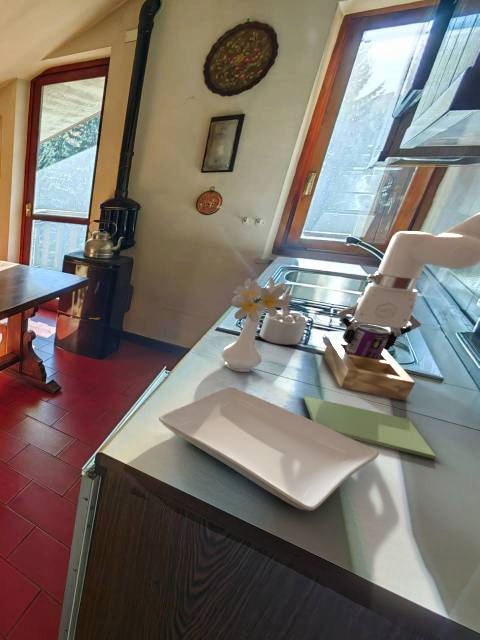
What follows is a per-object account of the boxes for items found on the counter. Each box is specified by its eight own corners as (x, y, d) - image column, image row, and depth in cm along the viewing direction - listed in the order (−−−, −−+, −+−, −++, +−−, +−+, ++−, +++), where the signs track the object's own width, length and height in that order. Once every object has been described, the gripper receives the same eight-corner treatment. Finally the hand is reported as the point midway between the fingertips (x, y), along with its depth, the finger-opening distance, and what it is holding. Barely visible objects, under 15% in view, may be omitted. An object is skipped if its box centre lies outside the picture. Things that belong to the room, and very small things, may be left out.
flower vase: (205, 373, 105) (231, 284, 95) (218, 351, 118) (241, 270, 108) (264, 389, 98) (298, 294, 88) (270, 363, 111) (300, 278, 101)
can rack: (377, 364, 111) (384, 348, 109) (405, 400, 93) (415, 382, 91) (323, 354, 116) (329, 339, 114) (340, 387, 99) (348, 369, 97)
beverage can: (372, 376, 104) (392, 335, 100) (337, 368, 109) (355, 328, 104) (372, 367, 109) (390, 328, 104) (338, 359, 113) (355, 321, 109)
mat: (407, 422, 85) (408, 419, 85) (434, 459, 74) (436, 456, 74) (303, 398, 94) (304, 395, 94) (314, 428, 83) (315, 425, 83)
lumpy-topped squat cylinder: (304, 337, 128) (313, 313, 125) (291, 347, 121) (300, 321, 117) (267, 328, 136) (275, 304, 132) (253, 337, 128) (261, 312, 125)
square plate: (152, 431, 82) (156, 415, 80) (226, 397, 94) (230, 383, 93) (304, 526, 60) (313, 507, 59) (374, 466, 72) (383, 449, 71)
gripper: (353, 280, 100) (327, 342, 107) (450, 290, 92) (415, 357, 99) (345, 274, 106) (321, 333, 113) (436, 283, 98) (404, 347, 105)
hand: (365, 344), depth 106 cm, fingers closed on beverage can, 7 cm apart
